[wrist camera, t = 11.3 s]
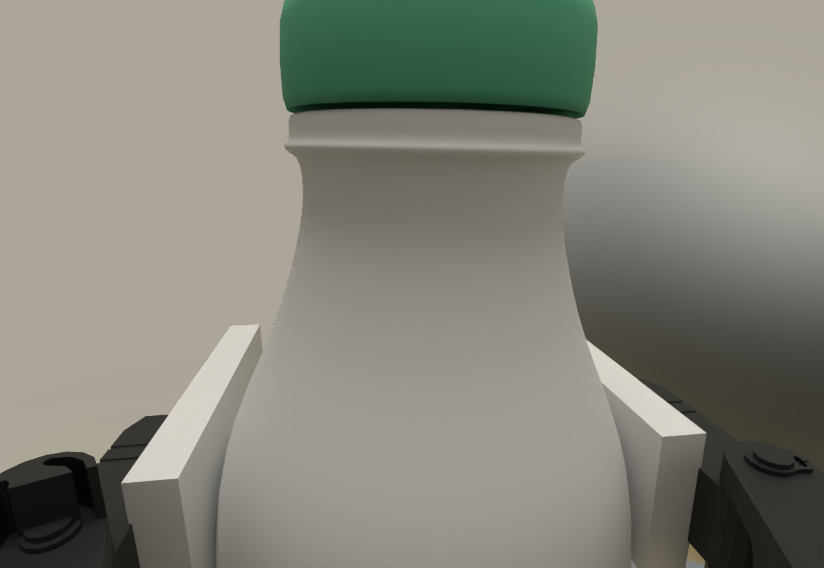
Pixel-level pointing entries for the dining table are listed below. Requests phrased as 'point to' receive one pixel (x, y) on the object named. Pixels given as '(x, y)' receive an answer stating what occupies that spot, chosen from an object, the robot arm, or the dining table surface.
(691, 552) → the dining table surface
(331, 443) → the milk bottle
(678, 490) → the robot arm
